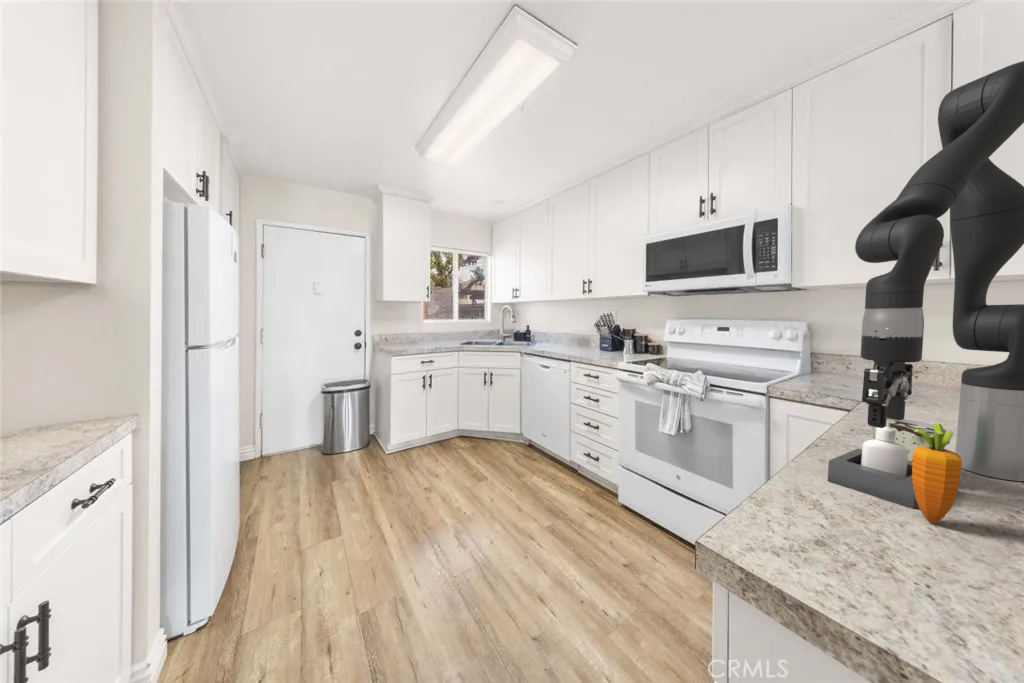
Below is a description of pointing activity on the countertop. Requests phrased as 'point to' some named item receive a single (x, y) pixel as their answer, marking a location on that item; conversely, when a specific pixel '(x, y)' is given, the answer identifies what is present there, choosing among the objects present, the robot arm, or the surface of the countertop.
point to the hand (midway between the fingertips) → (886, 422)
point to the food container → (909, 434)
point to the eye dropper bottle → (885, 452)
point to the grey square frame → (872, 479)
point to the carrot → (935, 474)
